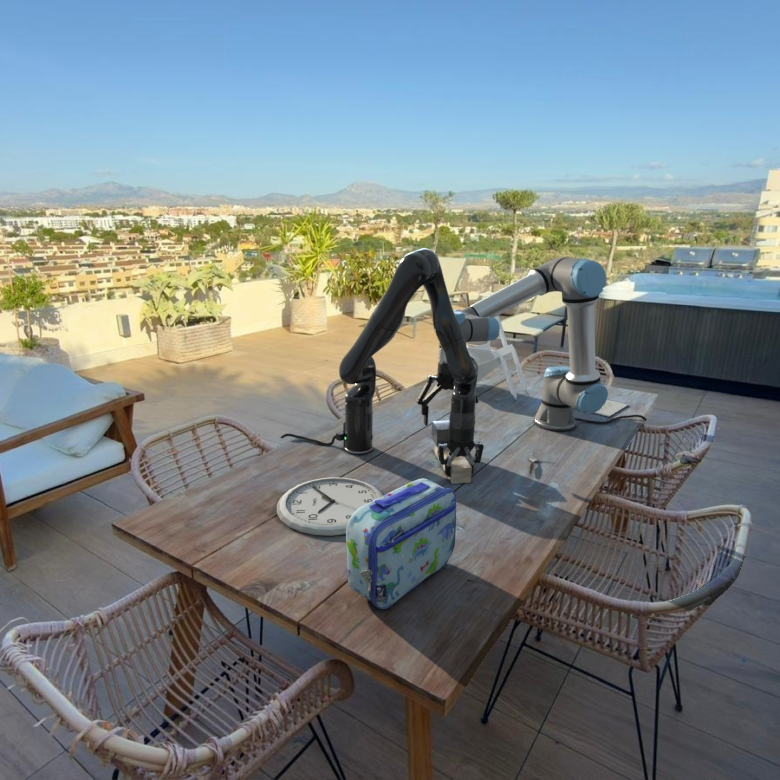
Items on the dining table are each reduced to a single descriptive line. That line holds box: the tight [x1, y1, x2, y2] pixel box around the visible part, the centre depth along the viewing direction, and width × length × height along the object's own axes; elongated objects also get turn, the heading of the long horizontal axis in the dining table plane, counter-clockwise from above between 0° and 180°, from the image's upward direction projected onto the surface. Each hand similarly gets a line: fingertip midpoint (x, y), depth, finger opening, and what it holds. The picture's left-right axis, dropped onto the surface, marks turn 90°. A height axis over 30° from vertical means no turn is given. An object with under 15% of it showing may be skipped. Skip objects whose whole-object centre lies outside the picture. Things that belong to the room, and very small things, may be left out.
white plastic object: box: [466, 315, 531, 400], centre depth 245 cm, size 37×45×31 cm
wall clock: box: [276, 476, 385, 537], centre depth 142 cm, size 30×2×30 cm
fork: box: [529, 450, 539, 475], centre depth 168 cm, size 3×16×2 cm, turn 160°
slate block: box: [430, 420, 449, 447], centre depth 173 cm, size 8×8×6 cm
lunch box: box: [345, 477, 457, 610], centre depth 110 cm, size 26×11×21 cm, turn 134°
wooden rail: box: [433, 442, 472, 485], centre depth 167 cm, size 24×6×5 cm, turn 8°
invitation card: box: [594, 399, 629, 418], centre depth 226 cm, size 21×1×15 cm
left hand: (458, 475), depth 159 cm, fingers closed on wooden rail, 6 cm apart
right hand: (445, 423), depth 172 cm, fingers open, 13 cm apart
